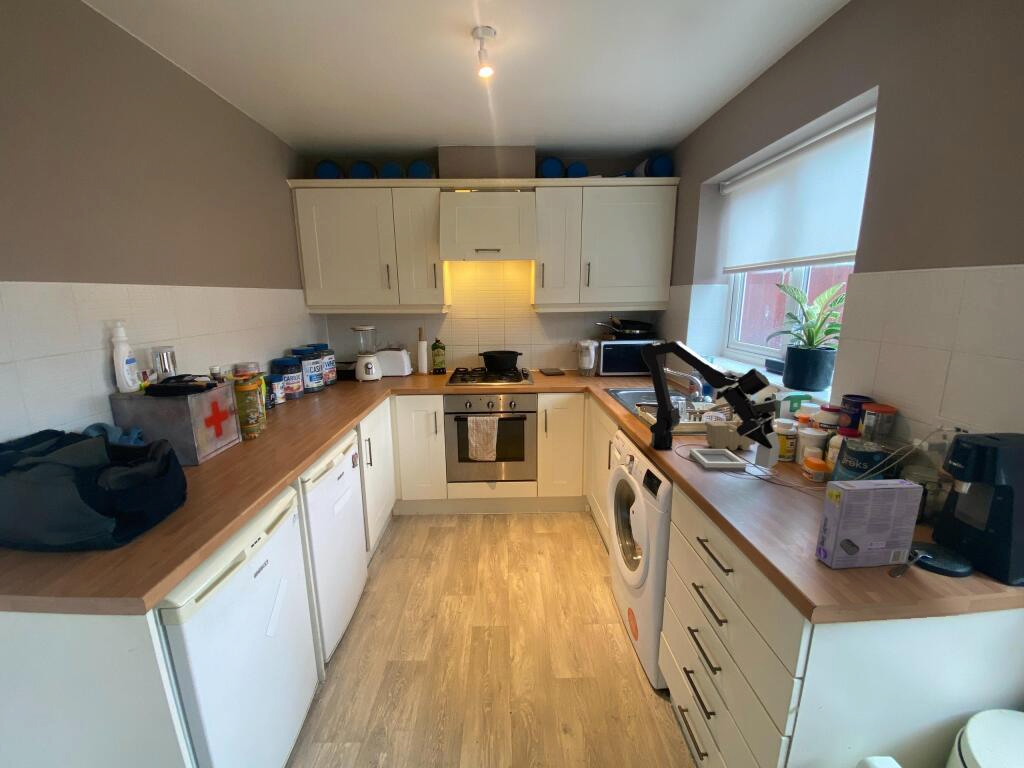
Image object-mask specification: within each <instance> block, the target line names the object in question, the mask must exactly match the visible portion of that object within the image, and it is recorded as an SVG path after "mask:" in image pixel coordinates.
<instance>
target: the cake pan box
mask: <svg viewBox="0 0 1024 768" xmlns="http://www.w3.org/2000/svg"><path fill="white" fill-rule="evenodd" d="M923 493H924V486H923V485H920V484H918V483H914V482H911V481H909V480H905V479H870V480H869V479H863V480H861V479H860V480H837V481H836V480H833V481H830V480H829V481H827V483H826V488H825V494H824V501H823V506H822V507H823V508H822V513H821V519H820V523H819V530H818V535H817V536H818V537H817V543H816V548H815V553H814V556H815V557H816V558H817V559H818V560H819V561H821V562H823V564H825V565H826V566H827V567H829V568H830V569H831V570H837V569H846V568H847V569H849V568H860V569H861V568H874V567H876V568H877V567H880V566H889V565H890V566H893V565H907V564H908V559H909V556H910V552H911V551H910V550H911V547H912V543H913V539H914V534H915V533H914V532H915V527H916V522H917V519H918V518H917V517H918V514H919V510H920V505H921V500H922V496H923ZM906 563H907V564H906Z"/></svg>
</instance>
